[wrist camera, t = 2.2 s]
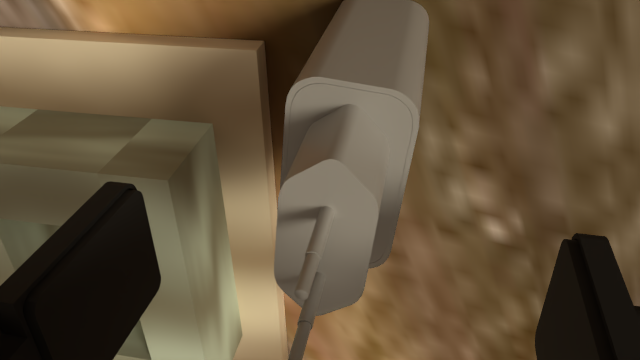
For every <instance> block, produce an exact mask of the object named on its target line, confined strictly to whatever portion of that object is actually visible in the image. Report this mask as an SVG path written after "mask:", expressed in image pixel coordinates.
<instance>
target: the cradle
mask: <svg viewBox="0 0 640 360" xmlns="http://www.w3.org/2000/svg"><path fill="white" fill-rule="evenodd" d="M109 181H112V182H121V183H130V184H133V185H134V186H135V187H136V189H137V190H138V191H141V193H142V195H143V198H144V202H145V207H146V211H147V216H148V220H149V225H150V229H151V234H152V238H153V243H154V247H155V252H156V256H157V261H158V265H159V270H160V274H161V284H160V288H159V290H158V292H157V294H156V295H155V297H154V298H153V300H152V301H151V303H150V304H149V306H148V307H147V309H146V310H145V312H144V313H143V315H142V316H141V318H140V319H139V321H138V322H137V324H136V325H135V327H134V328H133V330H132V331H131V333H130V335H129V336H128V338H127V339H126V341H125V342H124V344H123V345H122V347H121V348H120V350H119V351H118V353H117V354H116V356H115V357H114V359H113V360H288V347H287V334H286V320H285V307H284V294H283V290H281V288H280V287H279V286H278V284H277V282H276V280H275V277H274V259H275V243H276V227H277V201H276V188H275V174H274V161H273V148H272V135H271V121H270V108H269V95H268V81H267V68H266V55H265V42H264V41H258V40H239V39H220V38H200V37H181V36H162V35H143V34H124V33H105V32H86V31H67V30H47V29H28V28H9V27H0V286H1V285H2V284H3V283H4V282H5V281H6V280H7V279H8V278H9V277H10V276H11V275H12V274H13V273H14V272H15V271H16V270H17V269H18V268H19V267H20V266H21V265H22V264H23V263H24V262H25V261H26V260H27V259H28V258H29V257H30V256H31V255H32V254H33V253H34V252H35V251H36V250H37V249H38V248H39V247H40V246H41V245H42V244H43V243H44V242H46V241H47V240H48V239H49V238H50V237H51V236H52V235H53V234H54V233H55V232H56V231H57V230H58V229H59V228H60V227H61V226H62V225H63V224H64V223H65V222H66V221H67V220H68V219H69V218H70V217H71V216H72V215H73V214H74V213H75V212H76V211H77V210H78V209H79V208H80V207H81V206H82V205H83V204H84V203H85V202H86V201H87V200H88V199H89V198H90V197H92V196H93V195H94V194H95V193H96V192H97V191H98V190H99V189H100V188H101V187H102V186H103V185H104V184H105V183H106V182H109Z"/></svg>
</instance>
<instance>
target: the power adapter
mask: <svg viewBox="0 0 640 360" xmlns="http://www.w3.org/2000/svg"><path fill="white" fill-rule="evenodd" d="M428 30H429V18H428V14H427V12H426V10H425V9H424V8H423V7H422V6H421V5H420V4H418V3H416V2H414V1H410V0H344V1H343V2H342V3H341V5H340V7H339V8H338V10H337V12H336V13H335V15H334V17H333V18H332V20H331V22H330V23H329V25H328V27H327V28H326V30H325V32H324V34H323V35H322V37H321V39H320V40H319V42H318V44H317V45H316V47H315V49H314V50H313V52H312V54H311V55H310V57H309V59H308V60H307V62H306V64H305V66H304V67H303V69H302V71H301V72H300V74H299V76H298V77H297V79H296V81H295V82H294V84H293V86H292V87H291V89H290V91H289V93H288V96H287V100H286V105H285V121H284V136H283V152H282V167H281V183H280V193H279V198H278V211H277V227H276V243H275V259H274V277H275V280H276V282H277V284H278V286H279V287H280V288H281V290H283V291H284V292H285V293H286V294H287V295H288V296H289V297H290V298H292V299H293V300H294V301H295V302H296V303H297V304H298V305H299V306H300V307H302V310H301V314H300V317H299V320H298V328H297V331H296V335H295V338H294V341H293V345H292V348H291V351H290V355H289V358H288V360H302V358H303V355H304V351H305V347H306V344H307V340H308V336H309V333H310V330H311V329H312V327H313V323H314V319H315V315H316V316H319V315H324V314H327V313H330V312H332V311H335V310H338V309H341V308H344V307H347V306H349V305H352V304H354V303H355V302H357V301H358V300H359V298H360V297H361V296H362V293H363V291H364V287H365V282H366V277H367V272H368V268H374V267H377V266H380V265H381V264H383V263H384V262H385V261H386V260H387V258H388V257H389V254H390V252H391V248H392V244H393V239H394V235H395V230H396V226H397V221H398V217H399V213H400V208H401V204H402V199H403V195H404V191H405V186H406V182H407V177H408V173H409V168H410V164H411V160H412V155H413V151H414V146H415V142H416V138H417V133H418V129H419V119H420V109H421V99H422V89H423V80H424V70H425V60H426V50H427V40H428Z"/></svg>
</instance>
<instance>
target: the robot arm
mask: <svg viewBox="0 0 640 360" xmlns="http://www.w3.org/2000/svg"><path fill="white" fill-rule="evenodd" d="M160 284H161V274H160V270H159V265H158V261H157V256H156V252H155V247H154V243H153V238H152V234H151V229H150V225H149V220H148V216H147V211H146V207H145V202H144V198H143V195H142V193H141V191H138V190H137V189H136V187H135V186H134V185H133V184H130V183H121V182H112V181H109V182H106V183H105V184H104V185H103V186H102V187H101V188H100V189H99V190H98V191H97V192H96V193H95V194H94V195H93V196H92V197H90V198H89V199H88V200H87V201H86V202H85V203H84V204H83V205H82V206H81V207H80V208H79V209H78V210H77V211H76V212H75V213H74V214H73V215H72V216H71V217H70V218H69V219H68V220H67V221H66V222H65V223H64V224H63V225H62V226H61V227H60V228H59V229H58V230H57V231H56V232H55V233H54V234H53V235H52V236H51V237H50V238H49V239H48V240H47V241H46V242H44V243H43V244H42V245H41V246H40V247H39V248H38V249H37V250H36V251H35V252H34V253H33V254H32V255H31V256H30V257H29V258H28V259H27V260H26V261H25V262H24V263H23V264H22V265H21V266H20V267H19V268H18V269H17V270H16V271H15V272H14V273H13V274H12V275H11V276H10V277H9V278H8V279H7V280H6V281H5V282H4V283H3V284H2V285H1V286H0V360H113V359H114V357H115V356H116V354H117V353H118V351H119V350H120V348H121V347H122V345H123V344H124V342H125V341H126V339H127V338H128V336H129V335H130V333H131V331H132V330H133V328H134V327H135V325H136V324H137V322H138V321H139V319H140V318H141V316H142V315H143V313H144V312H145V310H146V309H147V307H148V306H149V304H150V303H151V301H152V300H153V298H154V297H155V295H156V294H157V292H158V290H159V288H160ZM535 349H536V355H537V360H640V307H639V306H633V303H632V301H631V298H630V295H629V293H628V290H627V288H626V285H625V282H624V280H623V277H622V274H621V272H620V269H619V267H618V264H617V261H616V259H615V256H614V254H613V251H612V248H611V246H610V243H609V241H608V239H607V238H606V237H605V236H596V235H587V234H578V233H576V234H574V236H573V237H572V240H568V239H564V240H563V241H562V243H561V246H560V250H559V253H558V257H557V260H556V264H555V267H554V271H553V274H552V278H551V281H550V285H549V288H548V292H547V295H546V299H545V302H544V305H543V309H542V312H541V316H540V319H539V323H538V326H537V330H536V336H535Z"/></svg>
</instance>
